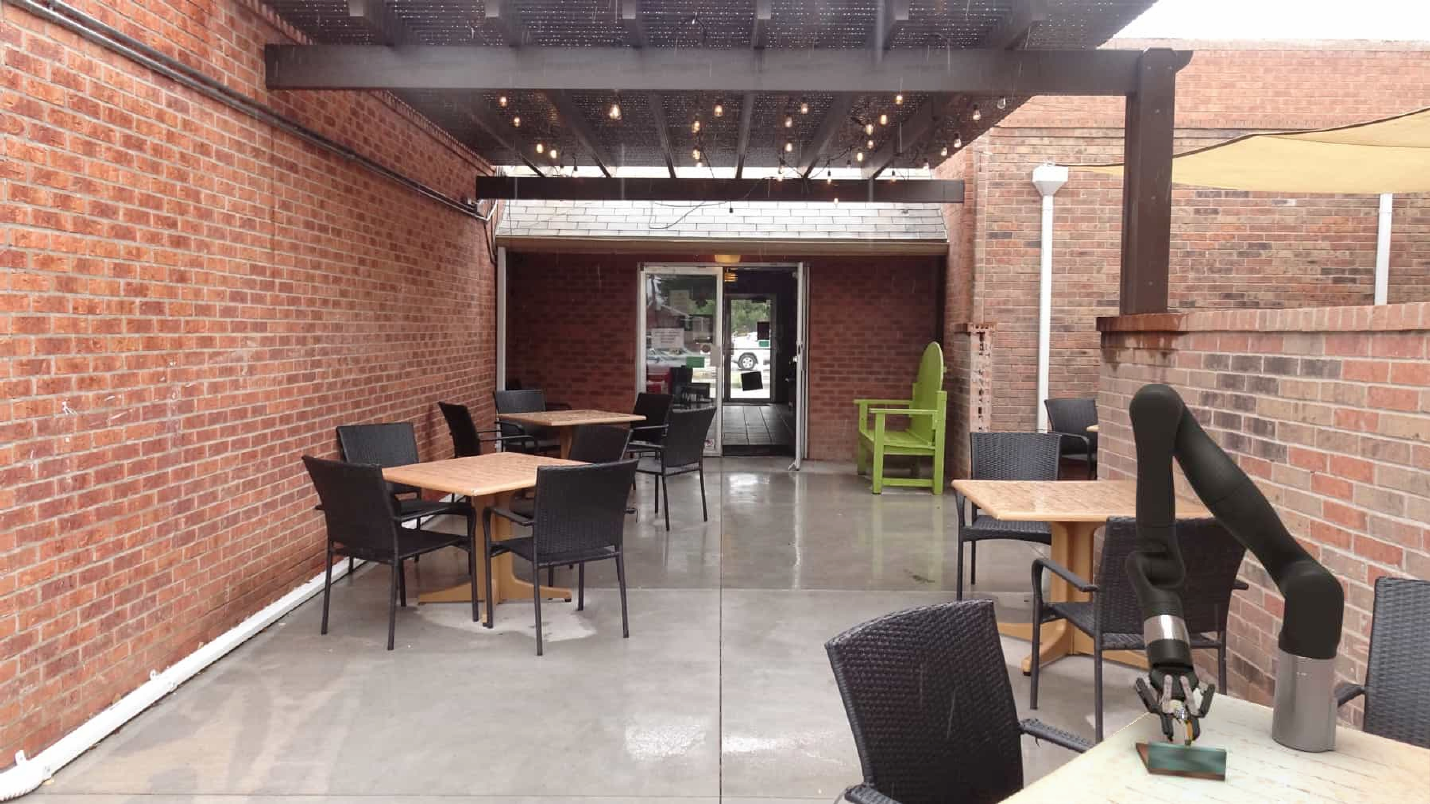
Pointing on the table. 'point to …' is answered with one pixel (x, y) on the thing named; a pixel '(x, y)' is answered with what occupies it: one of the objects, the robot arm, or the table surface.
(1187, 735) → the gold diamond ring
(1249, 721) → the table surface
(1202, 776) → the desk nameplate
